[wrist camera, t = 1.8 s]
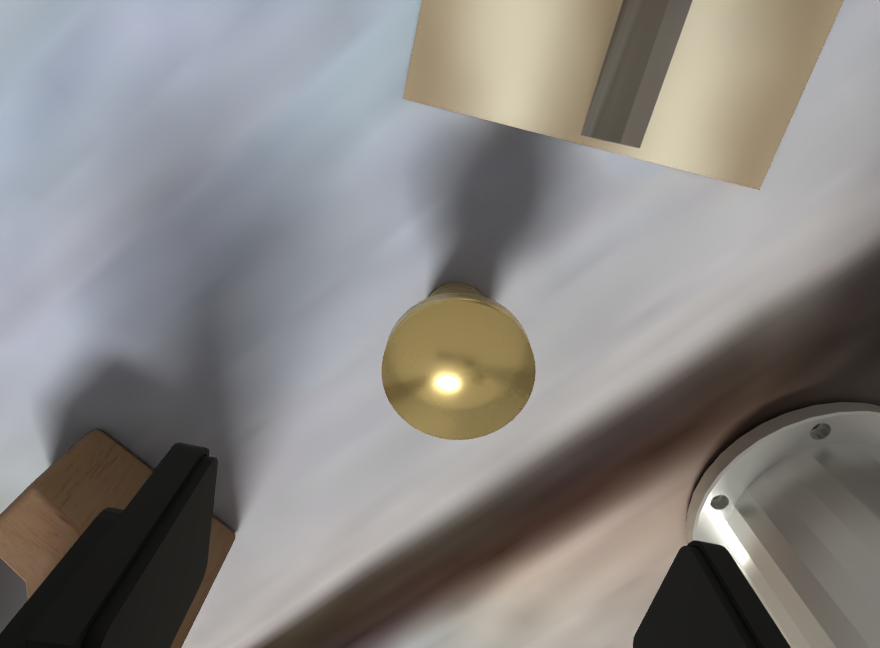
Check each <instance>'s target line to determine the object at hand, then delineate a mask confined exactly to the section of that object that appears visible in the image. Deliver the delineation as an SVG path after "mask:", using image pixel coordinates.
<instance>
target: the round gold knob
mask: <svg viewBox="0 0 880 648" xmlns="http://www.w3.org/2000/svg"><path fill="white" fill-rule="evenodd" d="M382 381H383V386H384V390H385V393H386V395H387V397H388V400H389V402H390V403H391V405H392V406H393V408H394V409H395V411H396V412H397V413H398V414H399V415H400V416H401V417H402V418H403V419H404V420H405V421H406V422H407V423H409V424H410V425H411V426H413V427H414V428H416V429H418V430H420V431H421V432H424V433H426V434H429V435H431V436H435V437H438V438H443V439H450V440H465V439H473V438H478V437H482V436H485V435H488V434H490V433H492V432H495V431H497V430H499V429H500V428H502V427H504V426H505V425H506V424H508V423H509V422H510V421H512V420H513V419H514V418H515V417H516V416H517V415H518V414H519V412H520V411H521V410H522V409H523V407H524V406H525V404H526V403H527V401H528V399H529V397H530V394H531V392H532V389H533V385H534V381H535V361H534V355H533V352H532V349H531V346H530V343H529V341H528V338H527V335H526V333H525V331H524V329H523V327H522V325H521V324H520V323H519V321H518V320H517V318H516V317H515V316H514V315H513V314H512V313H511V312H510V311H509V310H507V309H506V308H505V307H504V306H502V305H501V304H499V303H497V302H496V301H494V300H491V299H489V298H487V297H484V296H482V294H481V293H480V292H479V291H478V290H477V289H475V288H474V287H472V286H470V285H468V284H465V283H460V282H453V283H447V284H444V285H442V286H440V287H438V288H437V289H435V290H434V291H433V292H432V293H431V294H430V296H429V297H428V298H427V299H425V300H423V301H421V302H419V303H418V304H416V305H415V306H413V307H412V308H410V309H409V310H408V311H407V312H406V313H405V314H403V316H402V317H401V318H400V319H399V320H398V321H397V323H396V325H395V326H394V328H393V329H392V331H391V333H390V336H389V338H388V341H387V345H386V349H385V352H384V356H383V362H382Z"/></svg>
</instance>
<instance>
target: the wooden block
mask: <svg viewBox="0 0 880 648" xmlns="http://www.w3.org/2000/svg"><path fill="white" fill-rule="evenodd" d="M153 471H154V470H152V469H151V468H150V467H148V466H147V465H146V464H144V463H143V462H142V461H140V460H139V459H138V458H137V457H135V456H134V455H133V454H131V453H130V452H129V451H127V450H126V449H125V448H123V447H122V446H121V445H120V444H118V443H117V442H116V441H114V440H113V439H112V438H110V437H109V436H108V435H106V434H105V433H104V432H103V431H100V430H97V429H96V430H94V431H91V432H88V433H87V434H86V435H85V436H83V437H82V438H81V439H80V440H79V441H78V442H77V443H76V444H75V445H73V446H72V447H71V448H70V449H69V450H68V451H67V452H66V453H65V454H63V455H62V456H61V457H60V458H59V459H58V460H57V461H56V462H55V463H53V464H52V465H51V466H50V467H49V468H48V469H47V470H46V471H45V472H44V473H42V474H41V475H40V476H39V477H38V478H37V479H36V480H35V481H34V482H33V483H32V484H31V485H30V486H29V487H28V488H27V489H26V490H25V491H24V492H23V493H22V494H20V495H19V496H18V497H17V498H16V499H15V500H14V501H13V502H12V503H11V504H10V505H9V506H8V507H7V508H6V509H5V510H4V511H3V512H2V513H1V514H0V558H1V559H2V560H3V561H4V562H5V563H6V564H7V565H8V566H10V567H11V568H12V569H13V570H14V571H15V572H16V573H17V574H18V575H19V576H20V577H21V578H22V579H23V580H24V581H25V582H26V588H27V596H28V599H29V598H30V597H31V596H32V595H33V593H34V592H35V591H36V590H37V588H38V587H39V586H40V585H41V584H42V582H43V581H44V580H45V579H46V577H47V576H48V575H49V574H50V573H51V571H52V570H53V569H54V568H55V566H56V565H57V564H58V563H59V562H60V560H61V559H62V558H63V557H64V555H65V554H66V553H67V552H68V551H69V549H70V548H71V547H72V546H73V544H74V543H75V542H76V541H77V540H78V538H79V537H80V536H81V535H82V534H83V532H84V531H85V530H86V529H87V527H88V526H89V525H90V524H91V523H92V521H93V520H94V519H95V518H96V517H97V515H98V514H99V513H100V512H101V511H102V510H104V509H106V508H108V507H111V508H116V509H122V510H124V509H125V508H126V507H127V505H128V504H129V503H130V501H131V500H132V499H133V497H134V496H135V495H136V493H137V492H138V491H139V490H140V488H141V487H142V486H143V484H144V483H145V482H146V480H147V479H148V478H149V476H150V475H151V474H152V473H153ZM234 540H235V534H234V532H233V531H232V530H231V529H229V528H228V527H227V526H226V525H224V524H223V523H222V522H220V521H219V520H218V519H216V518H215V517H214V516H212V524H211V534H210V544H209V554H208V563H207V568H206V572H205V575H204V578H203V581H202V583H201V585H200V587H199V589H198V591H197V594H196V596H195V598H194V600H193V602H192V604H191V606H190V608H189V610H188V612H187V614H186V616H185V618H184V620H183V622H182V624H181V626H180V628H179V630H178V632H177V635H176V637H175V639H174V641H173V643H172V645H171V647H170V648H181V647H182V645H183V643H184V641H185V639H186V637H187V635H188V633H189V631H190V629H191V627H192V625H193V623H194V621H195V619H196V617H197V615H198V613H199V611H200V609H201V607H202V605H203V603H204V601H205V599H206V597H207V595H208V593H209V591H210V589H211V587H212V585H213V582H214V580H215V578H216V576H217V574H218V572H219V570H220V568H221V566H222V564H223V562H224V560H225V558H226V556H227V554H228V552H229V550H230V548H231V546H232V544H233V542H234Z"/></svg>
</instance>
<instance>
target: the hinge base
mask: <svg viewBox="0 0 880 648" xmlns="http://www.w3.org/2000/svg"><path fill="white" fill-rule="evenodd" d="M843 1H844V0H422V4H421V9H420V14H419V19H418V24H417V30H416V35H415V40H414V45H413V50H412V55H411V60H410V65H409V70H408V75H407V81H406V86H405V91H404V96H403V99H406V100H410V101H414V102H418V103H422V104H426V105H430V106H433V107H437V108H441V109H445V110H449V111H453V112H457V113H461V114H465V115H469V116H473V117H476V118H480V119H484V120H488V121H492V122H496V123H500V124H504V125H508V126H512V127H516V128H520V129H523V130H527V131H531V132H535V133H539V134H543V135H547V136H551V137H555V138H559V139H563V140H566V141H570V142H574V143H578V144H582V145H586V146H590V147H594V148H598V149H602V150H606V151H609V152H613V153H617V154H621V155H625V156H629V157H633V158H637V159H641V160H645V161H649V162H653V163H656V164H660V165H664V166H668V167H672V168H676V169H680V170H684V171H688V172H692V173H696V174H699V175H703V176H707V177H711V178H715V179H719V180H723V181H727V182H731V183H735V184H739V185H742V186H746V187H750V188H754V189H758V190H760V187H761V185H762V183H763V181H764V178H765V176H766V174H767V172H768V169H769V167H770V165H771V163H772V160H773V158H774V156H775V154H776V151H777V149H778V147H779V145H780V142H781V140H782V138H783V136H784V134H785V131H786V129H787V127H788V125H789V122H790V120H791V118H792V116H793V113H794V111H795V109H796V107H797V104H798V102H799V100H800V98H801V95H802V93H803V91H804V89H805V86H806V84H807V82H808V80H809V77H810V75H811V73H812V71H813V69H814V66H815V64H816V62H817V60H818V57H819V55H820V53H821V51H822V48H823V46H824V44H825V42H826V39H827V37H828V35H829V33H830V30H831V28H832V26H833V24H834V21H835V19H836V17H837V15H838V12H839V10H840V8H841V6H842V3H843Z"/></svg>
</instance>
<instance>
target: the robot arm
mask: <svg viewBox="0 0 880 648" xmlns="http://www.w3.org/2000/svg"><path fill="white" fill-rule="evenodd" d="M217 465H218V460H217V458H214V457H209V450H208V448H204V447H199V446H194V445H188V444H183V443H176V444H174V445H173V446H172V448H171V449H170V450H169V452H168V453H167V454H166V456H165V457H164V458H163V459H162V461H161V462H160V463H159V465H158V466H157V467H156V469H155V470H154V471H153V473H152V474H151V475H150V476H149V478H148V479H147V480H146V482H145V483H144V484H143V486H142V487H141V488H140V490H139V491H138V492H137V493H136V495H135V496H134V497H133V499H132V500H131V501H130V503H129V504H128V505H127V507H126V508H125V509H124V510H122V509H116V508H111V507H108V508H106V509H104V510H102V511H101V512H100V513H99V514H98V515H97V517H96V518H95V519H94V520H93V521H92V523H91V524H90V525H89V526H88V527H87V529H86V530H85V531H84V532H83V534H82V535H81V536H80V537H79V538H78V540H77V541H76V542H75V543H74V544H73V546H72V547H71V548H70V549H69V551H68V552H67V553H66V554H65V555H64V557H63V558H62V559H61V560H60V562H59V563H58V564H57V565H56V566H55V568H54V569H53V570H52V571H51V573H50V574H49V575H48V576H47V577H46V579H45V580H44V581H43V582H42V584H41V585H40V586H39V587H38V588H37V590H36V591H35V592H34V593H33V595H32V596H31V597H30V598H29V599H28V601H27V602H26V603H25V604H24V606H23V607H22V608H21V609H20V610H19V612H18V613H17V614H16V615H15V617H14V618H13V619H12V620H11V621H10V623H9V624H8V625H7V626H6V628H5V629H4V630H3V631H2V633H1V634H0V648H170V647H171V645H172V643H173V641H174V639H175V637H176V635H177V632H178V630H179V628H180V626H181V624H182V622H183V620H184V618H185V616H186V614H187V612H188V610H189V608H190V606H191V604H192V602H193V600H194V598H195V596H196V594H197V591H198V589H199V587H200V585H201V583H202V581H203V578H204V575H205V572H206V568H207V563H208V554H209V544H210V534H211V524H212V514H213V504H214V494H215V484H216V475H217ZM686 533H687V539H688V545H687V546H683V547H681V549H680V550H679V552H678V554H677V556H676V557H675V559H674V561H673V563H672V565H671V567H670V569H669V571H668V573H667V575H666V577H665V578H664V580H663V582H662V584H661V586H660V588H659V590H658V592H657V594H656V596H655V598H654V599H653V601H652V603H651V605H650V607H649V609H648V611H647V613H646V615H645V617H644V619H643V621H642V622H641V624H640V626H639V628H638V630H637V632H636V634H635V636H634V641H633V648H880V406H878V405H873V404H869V403H854V402H836V403H828V404H819V405H813V406H809V407H805V408H802V409H798V410H795V411H791V412H787V413H785V414H783V415H780V416H778V417H776V418H774V419H771V420H769V421H767V422H764V423H762V424H761V425H759V426H757V427H756V428H754V429H753V430H751V431H749V432H748V433H746V434H745V435H743V436H741V437H740V438H738V439H737V440H736V441H735V442H734V443H733V444H732V445H730V446H729V447H728V448H727V449H726V450H725V451H723V452H722V453H721V454H720V455H719V456H718V457H717V459H716V460H715V461H714V462H713V463H712V465H711V466H710V467H709V468H708V469H707V471H706V472H705V473H704V475H703V476H702V478H701V480H700V482H699V484H698V485H697V487H696V489H695V491H694V493H693V496H692V499H691V502H690V505H689V508H688V512H687V524H686Z"/></svg>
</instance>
